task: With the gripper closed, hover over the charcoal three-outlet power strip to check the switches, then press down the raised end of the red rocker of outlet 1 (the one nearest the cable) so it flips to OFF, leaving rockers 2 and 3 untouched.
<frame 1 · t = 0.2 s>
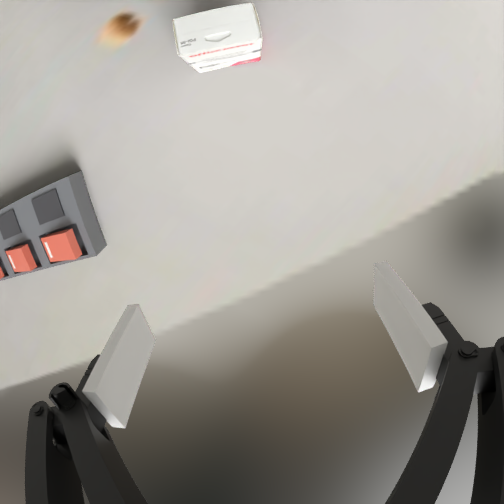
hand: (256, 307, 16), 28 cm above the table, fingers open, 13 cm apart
rocker 2: (20, 258, 41), point 5 cm above the table, hinge at 15.0°
rocker 3: (60, 246, 40), point 5 cm above the table, hinge at 15.0°
ink box: (226, 52, 33), on the table
power strip: (27, 232, 44), on the table
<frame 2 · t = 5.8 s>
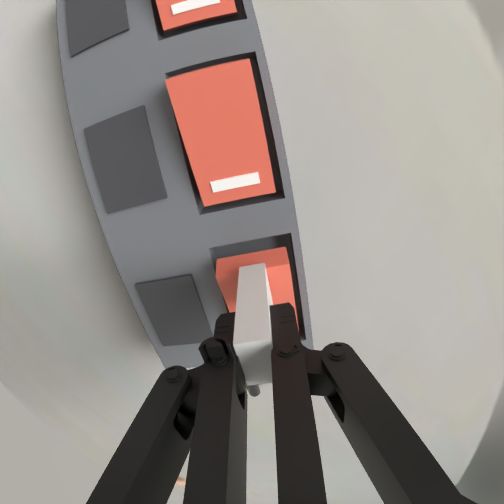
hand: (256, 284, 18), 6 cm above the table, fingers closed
rocker 2: (224, 133, 16), point 5 cm above the table, hinge at 15.0°
power strip: (185, 141, 20), on the table
rocker 1: (262, 303, 20), point 5 cm above the table, hinge at 14.8°, touching gripper
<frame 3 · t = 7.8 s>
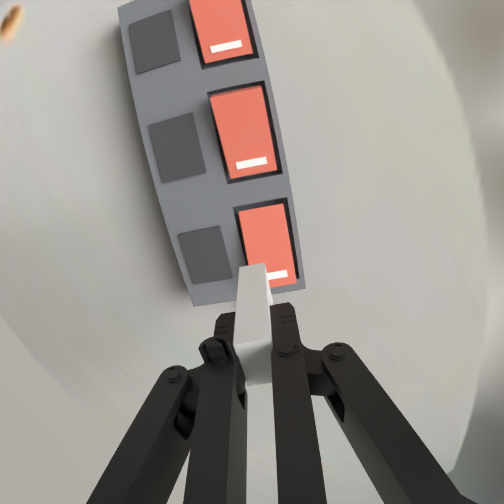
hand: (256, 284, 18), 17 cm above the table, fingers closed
rocker 2: (245, 132, 25), point 5 cm above the table, hinge at 15.0°
rocker 3: (220, 20, 21), point 5 cm above the table, hinge at 15.0°
power strip: (215, 137, 30), on the table
rocker 1: (268, 246, 30), point 5 cm above the table, hinge at -16.8°
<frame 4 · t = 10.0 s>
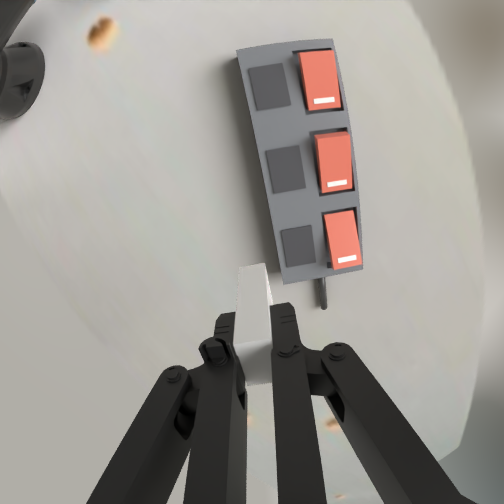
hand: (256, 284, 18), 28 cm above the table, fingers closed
rocker 2: (334, 162, 37), point 5 cm above the table, hinge at 15.0°
rocker 3: (319, 79, 33), point 5 cm above the table, hinge at 15.0°
power strip: (305, 161, 42), on the table
rocker 1: (342, 239, 42), point 5 cm above the table, hinge at -23.2°
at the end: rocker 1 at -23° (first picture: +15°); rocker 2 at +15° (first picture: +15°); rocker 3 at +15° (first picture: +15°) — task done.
